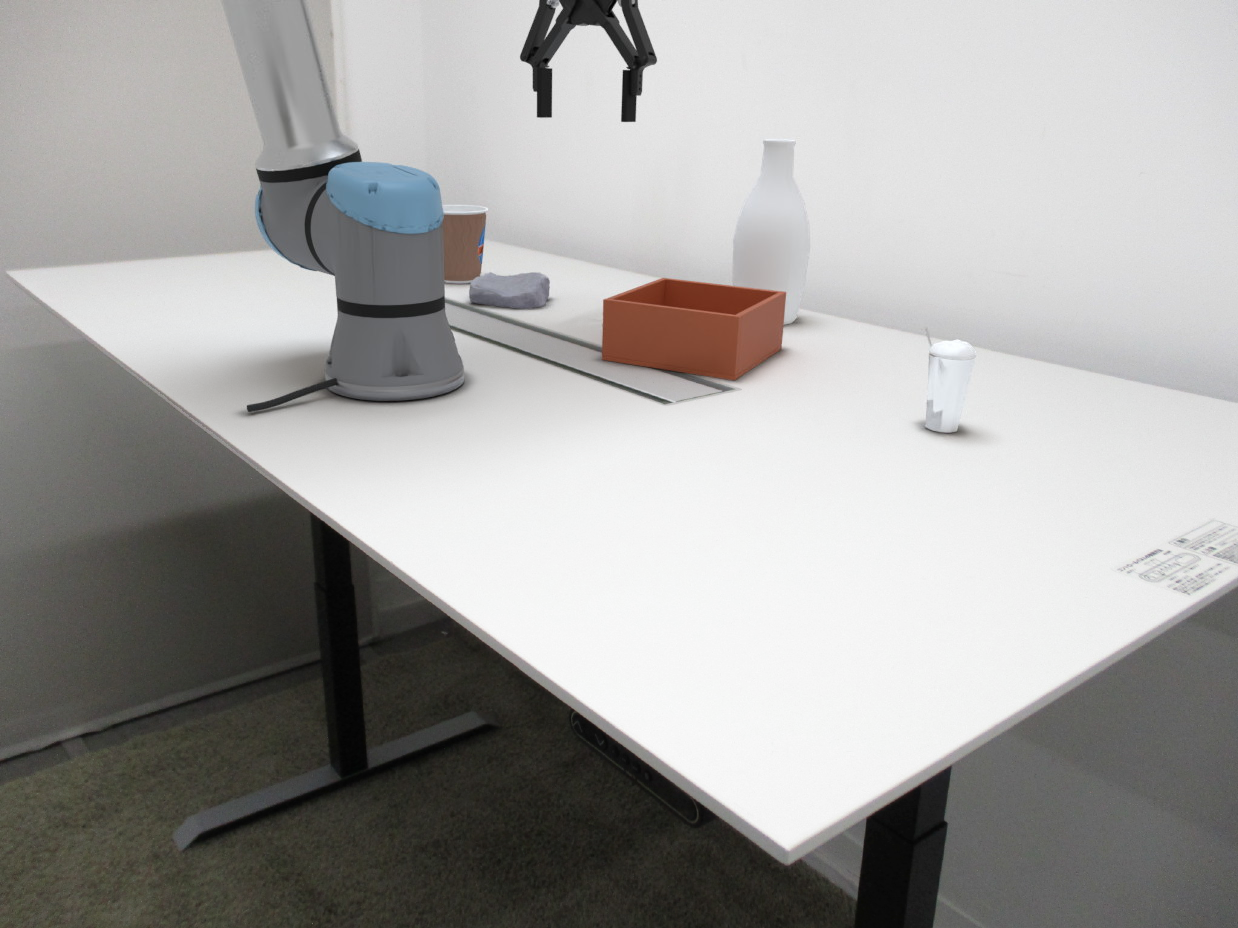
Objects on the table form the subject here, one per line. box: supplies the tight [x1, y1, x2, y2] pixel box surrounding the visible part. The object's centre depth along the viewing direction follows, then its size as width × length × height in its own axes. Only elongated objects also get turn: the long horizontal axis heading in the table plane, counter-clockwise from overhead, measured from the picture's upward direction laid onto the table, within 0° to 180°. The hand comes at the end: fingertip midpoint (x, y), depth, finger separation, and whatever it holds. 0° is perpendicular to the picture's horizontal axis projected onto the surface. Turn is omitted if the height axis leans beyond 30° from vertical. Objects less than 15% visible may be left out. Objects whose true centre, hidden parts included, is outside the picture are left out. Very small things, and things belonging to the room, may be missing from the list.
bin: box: [601, 277, 786, 381], centre depth 128 cm, size 18×18×8 cm
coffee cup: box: [442, 204, 489, 285], centre depth 170 cm, size 10×10×12 cm
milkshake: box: [924, 327, 977, 434], centre depth 102 cm, size 4×5×10 cm
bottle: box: [731, 138, 811, 326], centre depth 145 cm, size 11×11×25 cm
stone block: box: [468, 271, 551, 310], centre depth 156 cm, size 12×5×10 cm
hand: (585, 120), depth 139 cm, fingers open, 13 cm apart
